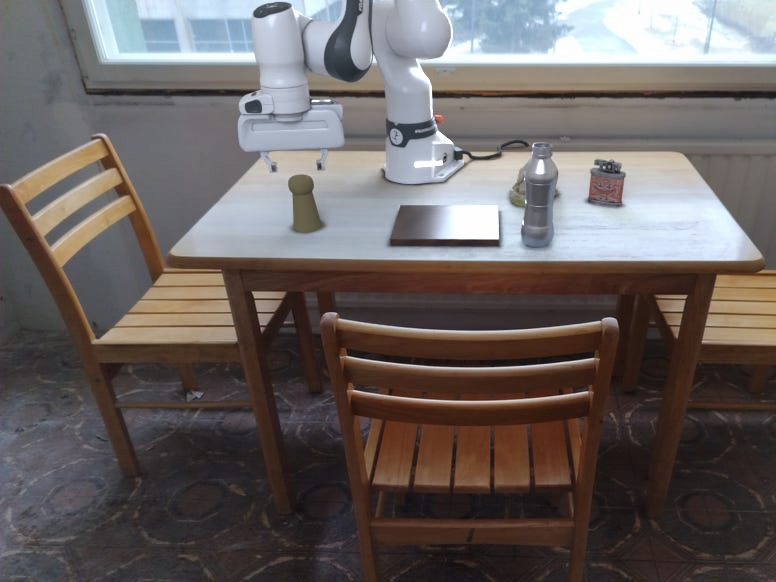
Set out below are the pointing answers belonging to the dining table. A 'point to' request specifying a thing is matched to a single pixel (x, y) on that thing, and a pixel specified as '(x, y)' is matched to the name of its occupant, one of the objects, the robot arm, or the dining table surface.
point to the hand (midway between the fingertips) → (297, 170)
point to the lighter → (606, 183)
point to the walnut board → (446, 225)
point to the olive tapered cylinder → (304, 204)
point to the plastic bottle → (539, 196)
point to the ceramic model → (521, 188)
